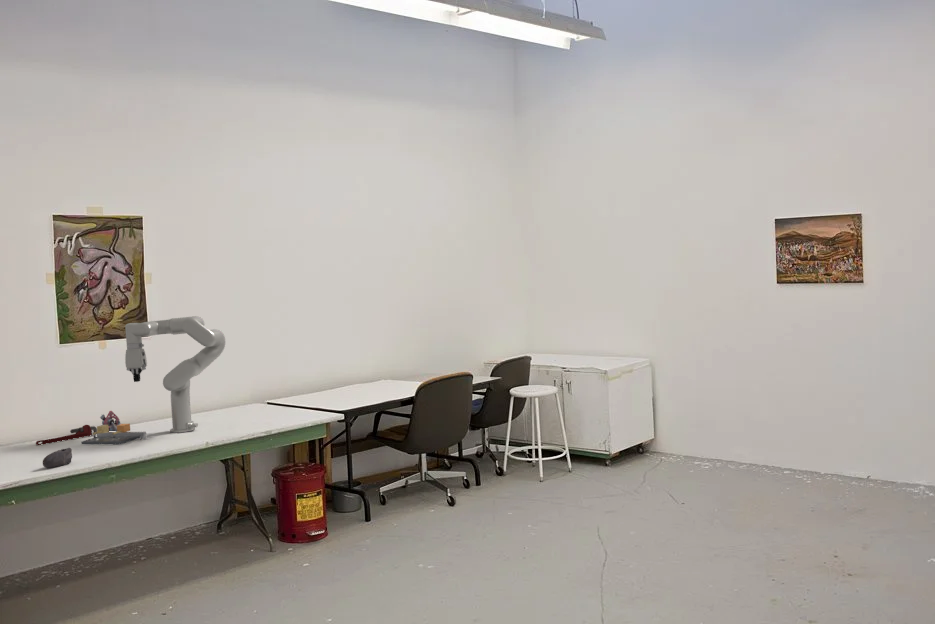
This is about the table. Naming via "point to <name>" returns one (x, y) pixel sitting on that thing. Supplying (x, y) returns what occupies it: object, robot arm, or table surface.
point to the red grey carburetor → (110, 421)
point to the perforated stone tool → (58, 458)
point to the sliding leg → (122, 429)
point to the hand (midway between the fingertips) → (137, 381)
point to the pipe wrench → (79, 432)
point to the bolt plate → (107, 436)
